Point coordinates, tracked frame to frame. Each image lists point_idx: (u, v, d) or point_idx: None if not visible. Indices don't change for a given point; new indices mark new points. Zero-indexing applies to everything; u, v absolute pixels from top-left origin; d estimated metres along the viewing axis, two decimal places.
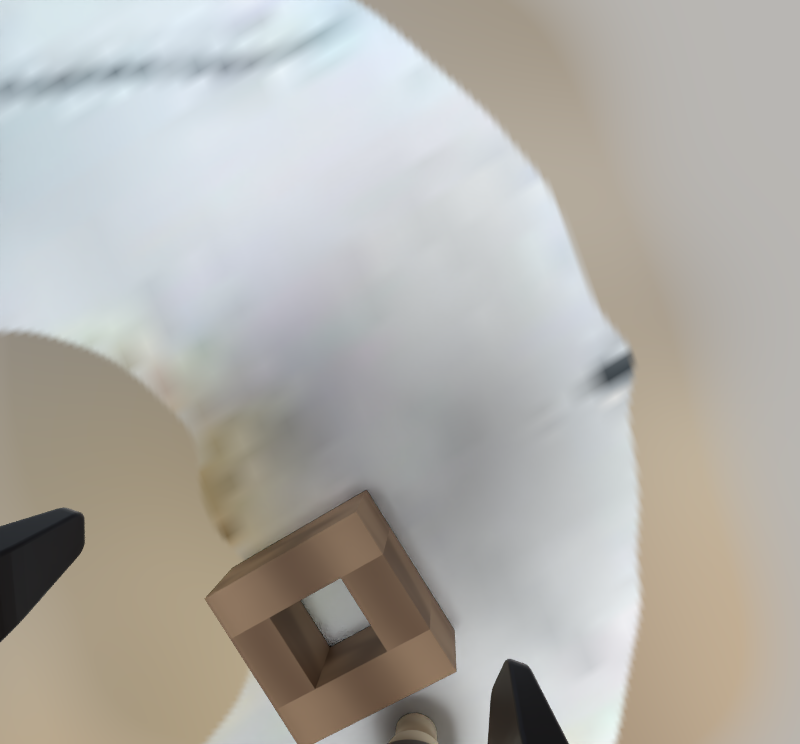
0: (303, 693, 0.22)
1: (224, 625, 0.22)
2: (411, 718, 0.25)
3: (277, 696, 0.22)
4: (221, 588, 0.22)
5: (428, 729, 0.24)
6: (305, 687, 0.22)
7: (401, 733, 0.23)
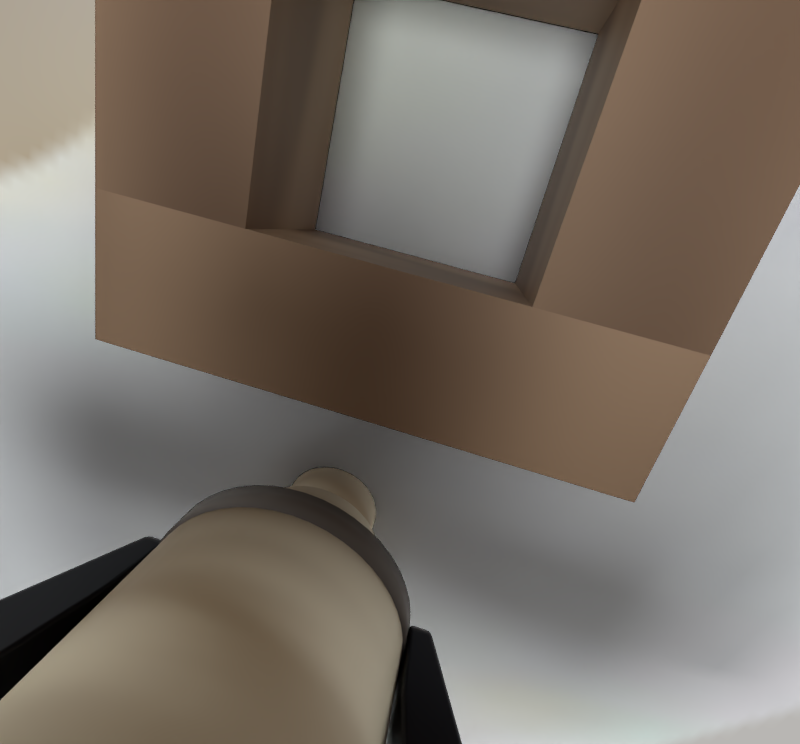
0: (204, 216, 0.07)
1: None
2: (350, 484, 0.11)
3: (126, 154, 0.06)
4: None
5: None
6: (222, 200, 0.06)
7: (328, 494, 0.09)
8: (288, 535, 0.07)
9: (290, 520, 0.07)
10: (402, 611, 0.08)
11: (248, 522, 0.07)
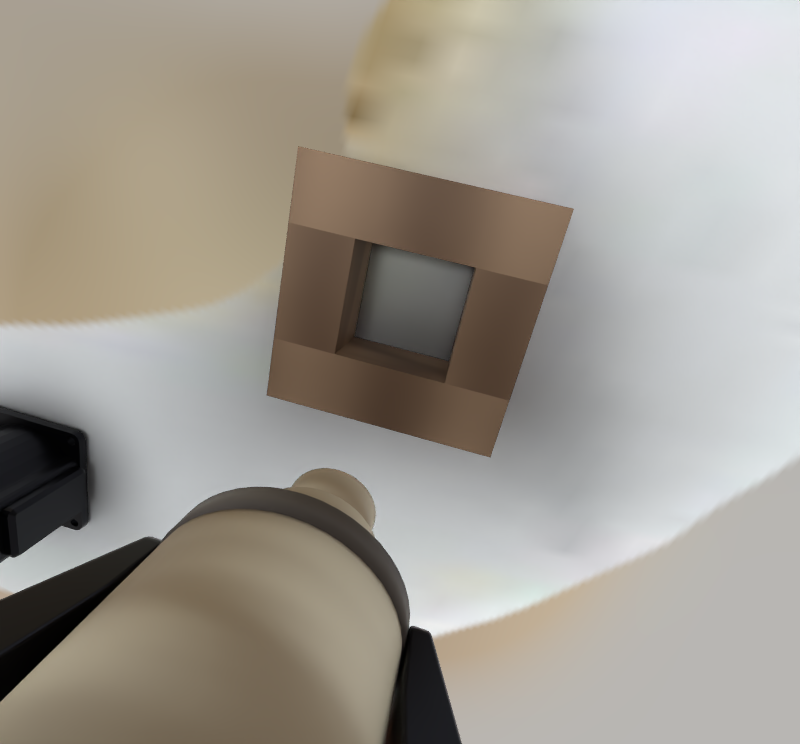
0: (317, 348, 0.17)
1: (294, 199, 0.15)
2: (350, 485, 0.11)
3: (288, 327, 0.17)
4: (327, 153, 0.15)
5: None
6: (325, 343, 0.17)
7: (328, 495, 0.09)
8: (288, 537, 0.07)
9: (289, 522, 0.07)
10: (401, 612, 0.08)
11: (248, 524, 0.07)
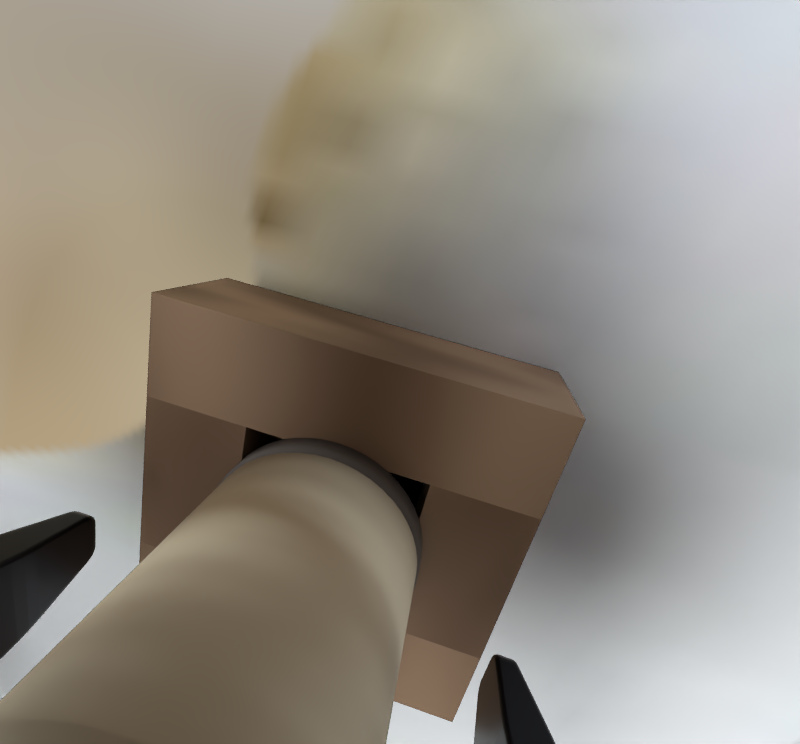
0: None
1: (153, 366, 0.10)
2: None
3: (159, 530, 0.11)
4: (198, 304, 0.09)
5: None
6: None
7: None
8: (328, 471, 0.09)
9: (328, 461, 0.09)
10: (417, 537, 0.09)
11: (296, 461, 0.09)
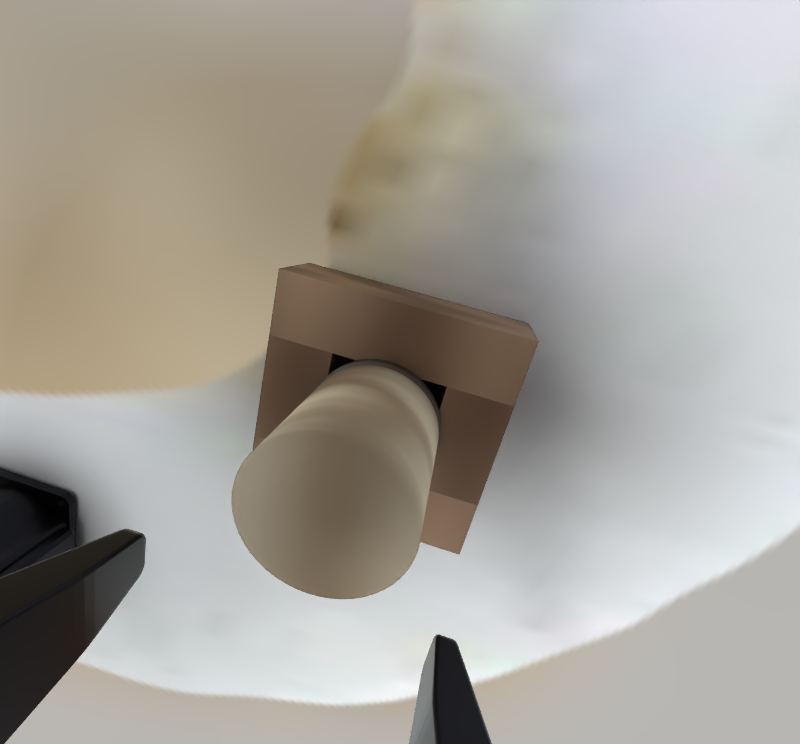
0: None
1: (275, 315, 0.16)
2: None
3: (268, 426, 0.17)
4: (307, 276, 0.15)
5: None
6: None
7: None
8: (388, 373, 0.15)
9: (386, 369, 0.15)
10: (438, 418, 0.16)
11: (368, 368, 0.15)
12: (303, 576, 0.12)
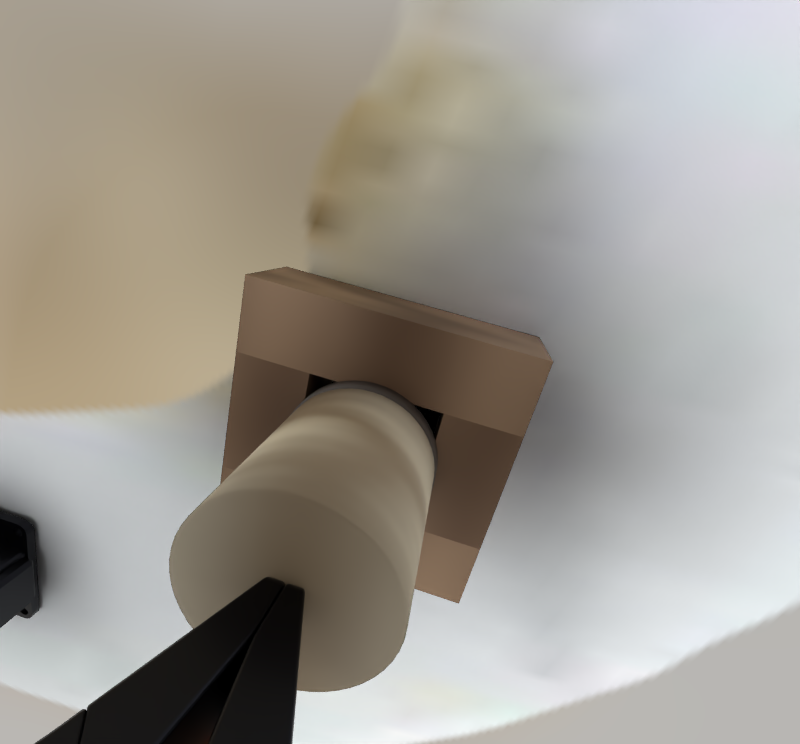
0: None
1: (242, 328, 0.14)
2: None
3: (237, 456, 0.15)
4: (278, 283, 0.13)
5: None
6: None
7: None
8: (373, 399, 0.12)
9: (372, 393, 0.13)
10: (434, 451, 0.13)
11: (350, 393, 0.13)
12: None
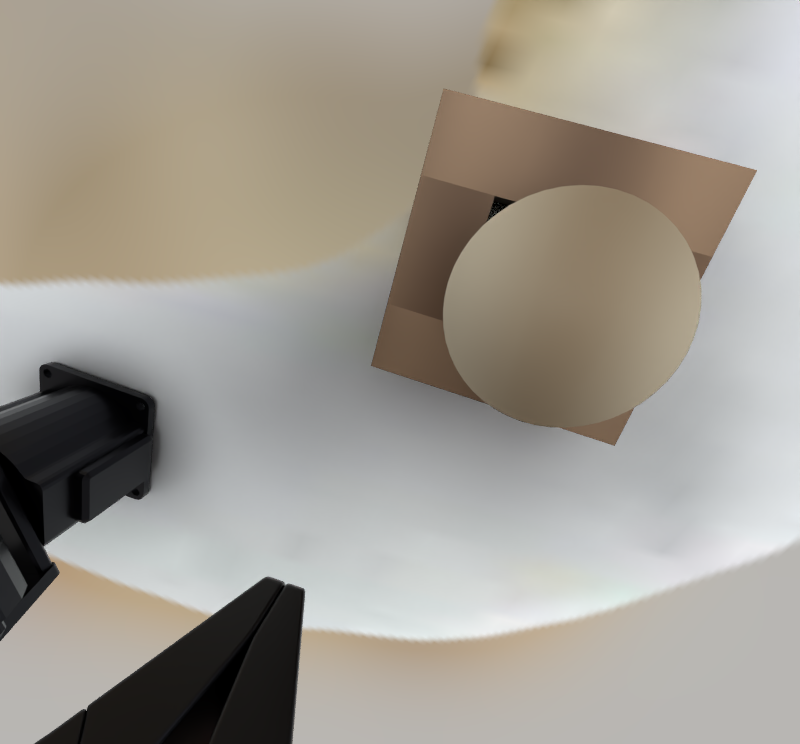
0: (433, 316, 0.16)
1: (431, 149, 0.14)
2: None
3: (405, 291, 0.15)
4: (475, 98, 0.13)
5: None
6: None
7: None
8: None
9: None
10: None
11: None
12: (520, 398, 0.10)
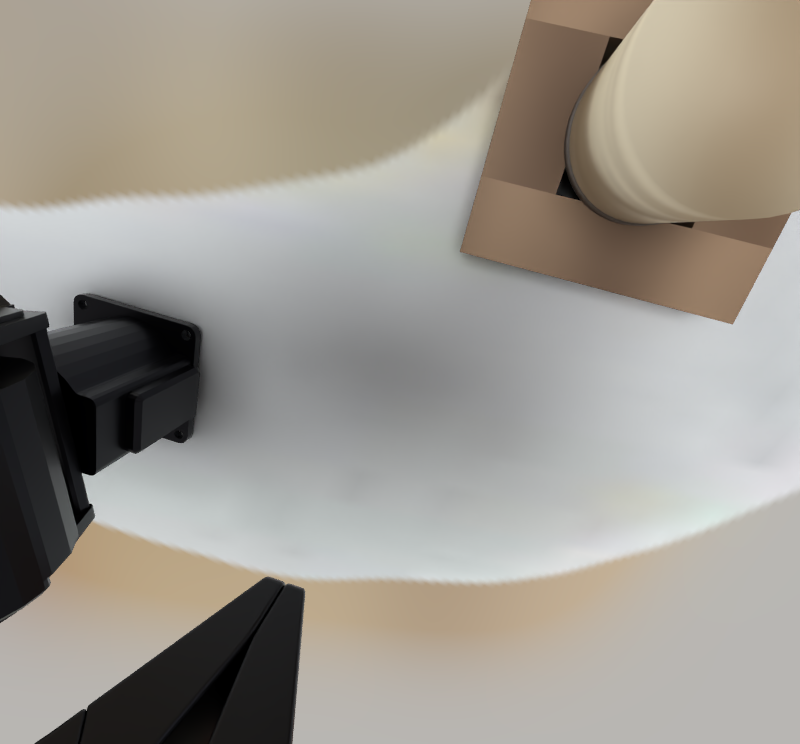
0: (532, 189, 0.14)
1: None
2: None
3: (502, 160, 0.14)
4: None
5: None
6: (547, 181, 0.14)
7: None
8: None
9: None
10: None
11: None
12: (715, 185, 0.08)
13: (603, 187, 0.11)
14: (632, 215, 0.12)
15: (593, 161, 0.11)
